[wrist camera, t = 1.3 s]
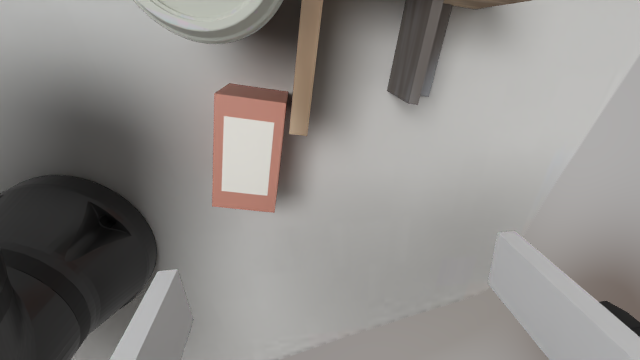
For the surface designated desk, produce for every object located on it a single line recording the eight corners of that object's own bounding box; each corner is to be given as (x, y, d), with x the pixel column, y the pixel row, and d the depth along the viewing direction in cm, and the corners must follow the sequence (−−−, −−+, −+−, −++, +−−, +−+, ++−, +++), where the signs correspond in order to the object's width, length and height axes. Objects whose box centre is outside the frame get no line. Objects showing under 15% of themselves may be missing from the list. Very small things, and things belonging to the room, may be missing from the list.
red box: (226, 178, 31) (212, 206, 26) (229, 83, 27) (214, 93, 22) (278, 184, 32) (274, 212, 26) (288, 91, 28) (285, 103, 23)
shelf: (291, 109, 28) (289, 133, 21) (305, -37, 24) (308, -70, 17) (441, 126, 30) (487, 155, 23) (479, -8, 26) (551, -26, 18)
